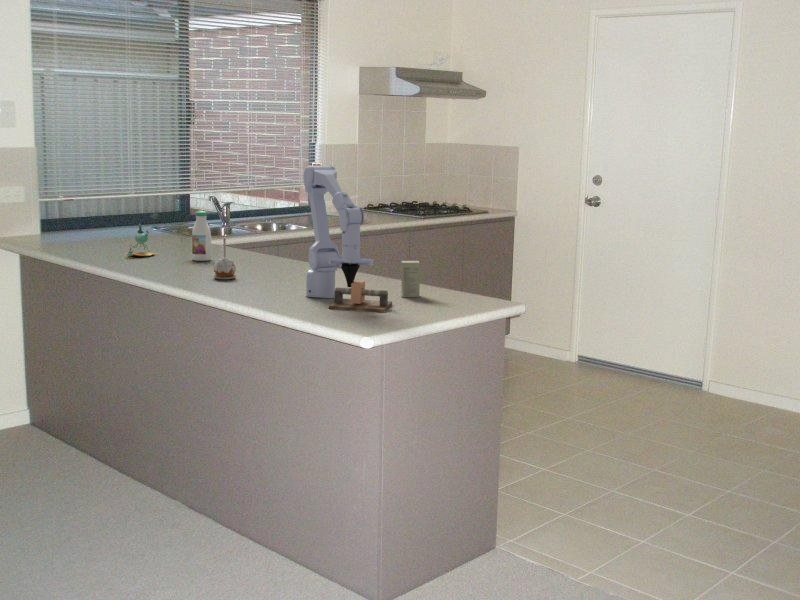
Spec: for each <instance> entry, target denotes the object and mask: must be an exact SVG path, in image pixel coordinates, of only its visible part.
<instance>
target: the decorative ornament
mask: <svg viewBox="0 0 800 600" xmlns="http://www.w3.org/2000/svg"><path fill="white" fill-rule="evenodd" d="M222 242H223V244H222V245H223V257H220V258H219V259H217V260H216V261H215V262H214V264H213V273H215V274H214V275H213V278H215V279H218V280H224V281H226V280H231V279H235V278H237V275H236V274H235V272H236V270H237V269H236V268H237V267H236V265H235V263H234V260H232V259H231V258H230V257H227V255H226V254H227V253H226V252H227V251H226V250H227V249H226V247H227V246H226V245H227V243H226V238H225V237H223V241H222Z"/></svg>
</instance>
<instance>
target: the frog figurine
mask: <svg viewBox="0 0 800 600" xmlns="http://www.w3.org/2000/svg"><path fill="white" fill-rule="evenodd" d="M145 232H146V233H145ZM145 232H144V231H143V229H142V225H141V223H138V230H137V233H136V234H135V237H134V240H135V243H136V245H132V244H129V245H128V247H129V251H127V253H125V255H126V257H125V259H126V260H132V259H135V257H134V256H138V257H150V256H155V255H158V254H157V253H155V252H151V250H149V249H148V245H146V242H147V241H148V240H149V237H148V236H149V234H150V232H149V231H148V230H146V231H145ZM138 245H139V248H142V247H143V248H144V250H147V251H137V252H134V250H133V249H137V248H138ZM130 246H131V247H130ZM132 256H133V257H132Z"/></svg>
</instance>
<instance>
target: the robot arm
mask: <svg viewBox="0 0 800 600" xmlns="http://www.w3.org/2000/svg"><path fill="white" fill-rule="evenodd" d="M337 177H338V173H337V169H336V168H335V166H334V165H306V167H305V168H304V171H303V184H304V189H305V192H306V193H308V196H309V197H308V198H309V203H310V204H309V205H310V212H311V220H312V225H313V226H312V227H313V233H314V240H315V241H314V243H313V244H312V245H311V246H310V247H309V249H308V264H309V267H310V269H309V270H307V273H306V283H305V284H306V289H305V290H306V293H305V294H306V295H305V297H309V298H320V299H321V298H322V299H334V291H335V288H336V271H338V268H339V267H341V270H342V272H343V275H344V277H345V279H346V285H347V287H346V288H351V283H353V282H354V281H355V278H356V275H357V273H358V270H359V269H360V266H367V267H373V266H374V259H373V258H372V259H370V258H362V257H361V255H360V253H361V252H360V251H361V250H360V249H361V246H360V245H361V226H362V225H363V224H364V220H365V215H364V211H363V209H362V207H361V206H358V205H355V204H354V202H353V201H352V199H351V197H350V195H349V194H348V193H347V192H346V191H343V190H342V188H341V186H340V184H339V183H338V182H339V181H338V180H337ZM326 193H329V194H330V196H331V197H332V199H331V203H332V205H333V206H334V208H335V209H336V212H337V213H338V222H339V223H340V231H341V254H340V252H339V247H338V245H337V244H335V242H333V241H332V240H331V235H330V228H329V220H328V215H327V207H326V200H325V195H326Z"/></svg>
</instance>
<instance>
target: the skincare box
mask: <svg viewBox="0 0 800 600" xmlns="http://www.w3.org/2000/svg"><path fill="white" fill-rule="evenodd" d="M420 264H421V263H420V261H419V260H401V298H420V290H421V289H420V288H421V287H420V275H421V274H420V273H421V272H420V267H421V265H420Z"/></svg>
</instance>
